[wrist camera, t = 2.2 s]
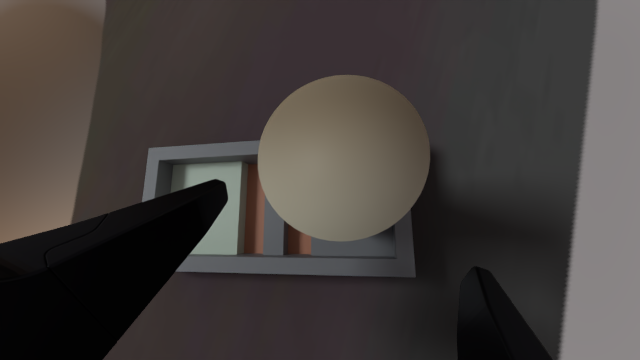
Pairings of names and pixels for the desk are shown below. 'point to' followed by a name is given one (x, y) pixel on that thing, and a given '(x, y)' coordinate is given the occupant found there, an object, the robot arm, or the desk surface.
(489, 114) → the desk surface
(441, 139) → the desk surface
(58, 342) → the robot arm
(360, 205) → the beige tall rounded piece
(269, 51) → the desk surface
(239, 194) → the box
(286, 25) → the desk surface
